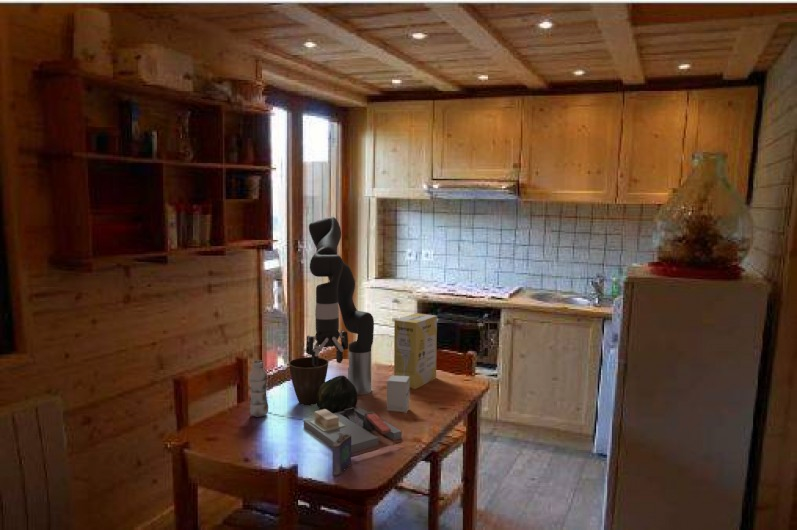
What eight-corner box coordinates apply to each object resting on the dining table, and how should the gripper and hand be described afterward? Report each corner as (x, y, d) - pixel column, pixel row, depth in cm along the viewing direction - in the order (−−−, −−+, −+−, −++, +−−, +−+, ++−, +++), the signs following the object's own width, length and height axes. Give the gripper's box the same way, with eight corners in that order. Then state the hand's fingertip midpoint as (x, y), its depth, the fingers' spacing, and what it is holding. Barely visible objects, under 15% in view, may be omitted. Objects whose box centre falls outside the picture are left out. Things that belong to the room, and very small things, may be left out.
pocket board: (303, 431, 190) (303, 419, 190) (359, 417, 203) (359, 406, 203) (342, 459, 169) (342, 446, 169) (401, 442, 182) (401, 430, 182)
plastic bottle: (272, 413, 206) (271, 360, 204) (260, 420, 200) (259, 365, 198) (258, 411, 209) (257, 358, 206) (246, 417, 203) (244, 363, 200)
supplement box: (406, 415, 205) (406, 382, 204) (386, 414, 206) (386, 380, 205) (409, 408, 212) (410, 376, 211) (390, 407, 214) (390, 374, 212)
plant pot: (324, 394, 227) (324, 355, 226) (332, 407, 213) (331, 365, 211) (287, 398, 223) (286, 358, 221) (292, 411, 209) (291, 369, 207)
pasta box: (415, 373, 256) (416, 313, 253) (436, 377, 250) (437, 315, 247) (394, 384, 240) (394, 320, 237) (415, 389, 235) (416, 322, 232)
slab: (314, 420, 190) (314, 411, 189) (325, 417, 192) (325, 408, 192) (327, 428, 182) (327, 419, 182) (338, 425, 185) (338, 417, 184)
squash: (310, 392, 214) (318, 370, 203) (348, 388, 220) (357, 367, 209) (317, 426, 205) (325, 405, 195) (356, 422, 211) (366, 401, 201)
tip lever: (341, 415, 196) (344, 395, 193) (355, 412, 199) (358, 392, 196) (375, 453, 179) (379, 432, 176) (390, 449, 182) (393, 428, 179)
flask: (338, 477, 159) (338, 440, 158) (329, 475, 160) (329, 438, 159) (353, 463, 167) (352, 428, 166) (344, 461, 168) (344, 427, 167)
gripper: (312, 320, 176) (313, 371, 178) (352, 315, 184) (352, 363, 186) (302, 316, 182) (302, 365, 184) (340, 311, 190) (340, 358, 192)
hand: (327, 364), depth 185 cm, fingers open, 8 cm apart
